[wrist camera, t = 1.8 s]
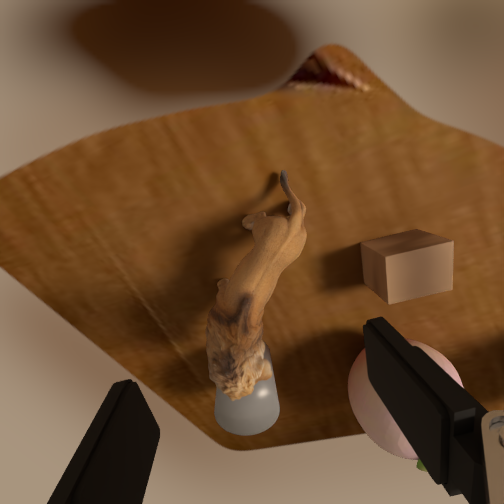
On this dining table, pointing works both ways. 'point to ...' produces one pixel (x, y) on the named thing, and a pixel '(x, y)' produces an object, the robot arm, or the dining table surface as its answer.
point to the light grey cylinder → (249, 407)
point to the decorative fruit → (374, 411)
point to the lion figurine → (252, 299)
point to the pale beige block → (408, 265)
